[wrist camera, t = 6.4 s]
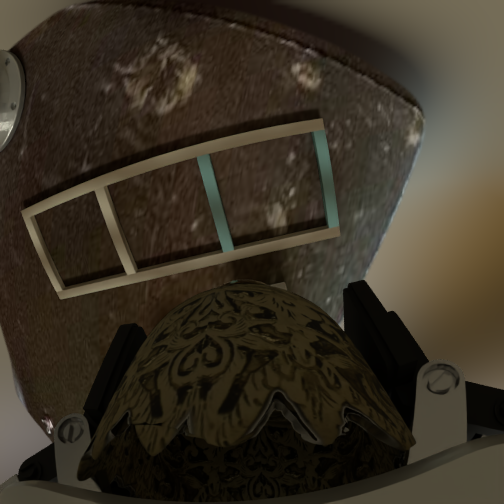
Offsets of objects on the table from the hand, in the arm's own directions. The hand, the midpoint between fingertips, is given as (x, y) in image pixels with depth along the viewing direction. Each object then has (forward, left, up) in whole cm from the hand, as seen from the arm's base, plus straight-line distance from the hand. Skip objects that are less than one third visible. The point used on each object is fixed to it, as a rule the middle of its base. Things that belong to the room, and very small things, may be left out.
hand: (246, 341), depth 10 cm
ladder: (0, -7, -18) cm, 19 cm away
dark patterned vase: (0, 0, -2) cm, 2 cm away
